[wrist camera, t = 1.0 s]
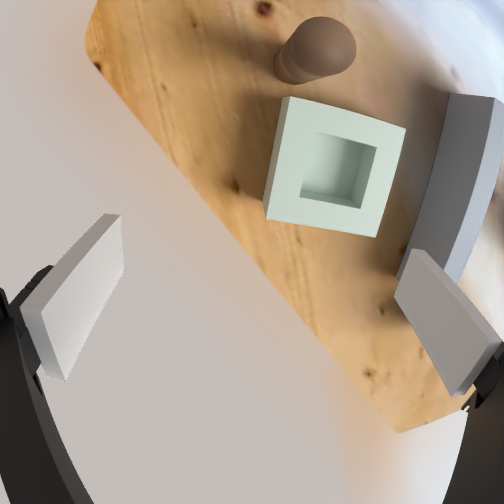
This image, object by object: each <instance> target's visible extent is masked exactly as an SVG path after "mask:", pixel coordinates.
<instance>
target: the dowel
mask: <svg viewBox="0 0 504 504" xmlns="http://www.w3.org/2000/svg"><path fill="white" fill-rule="evenodd" d="M355 55H356V43H355V40H354V37H353V35H352V34H351V32H350V31H349V29H348V28H347V27H346V26H345V25H343V24H342V23H340V22H339V21H337V20H335V19H332V18H329V17H313V18H310V19H308V20H306V21H304V22H303V23H302V24H300V26H299V27H298V28H297V29H296V30H295V32H294V33H293V34H292V35H291V37H290V38H289V39H288V41H287V42H286V43H285V44H284V46H283V47H282V48H281V50H280V51H279V52H278V54H277V55H276V57H275V59H274V63H273V66H274V71H275V73H276V75H277V76H278V77H279V78H280V79H281V80H282V81H283V82H285V83H288V84H292V85H298V84H302V83H306V82H309V81H312V80H316V79H319V78H323V77H326V76H330V75H334V74H337V73H340V72H343V71H344V70H346V69H347V68H348V67H349V66H350V65H351V64H352V62H353V61H354V59H355Z"/></svg>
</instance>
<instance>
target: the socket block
mask: <svg viewBox="0 0 504 504" xmlns="http://www.w3.org/2000/svg"><path fill="white" fill-rule="evenodd" d="M405 132H406V129H404V128H402V127H399V126H396V125H393V124H390V123H387V122H384V121H381V120H378V119H375V118H372V117H368V116H365V115H362V114H359V113H355V112H352V111H348V110H345V109H341V108H337V107H334V106H330V105H326V104H322V103H318V102H314V101H309V100H305V99H301V98H296V97H291V96H289V97H283V98H282V103H281V108H280V114H279V119H278V124H277V129H276V134H275V139H274V144H273V149H272V155H271V160H270V165H269V170H268V175H267V180H266V185H265V190H264V196H263V201H262V203H263V208H264V212H265V217H266V219H270V220H276V221H283V222H289V223H295V224H301V225H307V226H313V227H319V228H325V229H331V230H336V231H342V232H348V233H353V234H359V235H364V236H370V237H376V234H377V231H378V228H379V225H380V222H381V219H382V216H383V212H384V209H385V206H386V203H387V199H388V196H389V192H390V189H391V186H392V182H393V179H394V175H395V171H396V168H397V164H398V160H399V156H400V152H401V148H402V144H403V140H404V136H405Z"/></svg>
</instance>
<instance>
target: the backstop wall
mask: <svg viewBox="0 0 504 504" xmlns="http://www.w3.org/2000/svg"><path fill="white" fill-rule="evenodd" d="M503 154H504V104H503V103H502V102H500V101H499V100H497V99H496V98H492V97H484V96H475V95H465V94H453V93H450V95H449V100H448V105H447V111H446V115H445V120H444V125H443V129H442V134H441V138H440V142H439V146H438V150H437V154H436V158H435V162H434V165H433V169H432V173H431V176H430V180H429V183H428V186H427V190H426V193H425V196H424V199H423V203H422V206H421V209H420V212H419V215H418V218H417V221H416V224H415V227H414V229H413V232H412V235H411V238H410V241H409V243H408V246H407V249H406V251H405V254H404V257H403V259H402V262H401V264H400V267H399V269H398V272H397V274H396V278H397V279H398V280H399V282H400V279H401V276H402V274H403V271H404V269H405V266H406V263H407V261H408V258H409V255H410V252H411V250H412V248H413V249H420V250H425V251H426V252H427V253H428V255H429V256H430V257H431V258H432V259H433V260H434V261H435V262H436V263H437V264H438V265H439V266H440V267H441V268H442V269H443V270H444V271H445V273H446V274H447V275H448V276H449V277H450V278H451V279H452V280H453V281H454V283H455V284H456V285H457V283H458V281H459V279H460V277H461V275H462V272H463V270H464V268H465V266H466V263H467V261H468V259H469V256H470V254H471V252H472V249H473V247H474V244H475V242H476V239H477V237H478V234H479V231H480V229H481V226H482V223H483V221H484V218H485V215H486V212H487V209H488V206H489V203H490V200H491V197H492V194H493V190H494V187H495V184H496V180H497V177H498V173H499V169H500V166H501V162H502V158H503Z"/></svg>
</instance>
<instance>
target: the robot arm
mask: <svg viewBox="0 0 504 504" xmlns="http://www.w3.org/2000/svg"><path fill="white" fill-rule="evenodd" d="M123 272H124V263H123V249H122V232H121V215H114V214H104V215H103V216H102V217H101V218H100V219H99V220H98V221H97V222H96V223H95V224H94V225H93V226H92V227H91V228H90V229H89V230H88V231H87V232H86V233H85V234H84V235H83V236H82V237H81V238H80V239H79V240H78V241H77V242H76V243H75V244H74V245H73V246H72V247H71V249H70V250H69V251H68V252H67V253H66V254H65V255H64V256H63V257H62V258H61V259H60V260H59V261H58V263H57V264H56V265H55V266H51V265H48V266H47V267H45V268H44V269H42V270H40V271H38V272H37V274H36V275H35V276H34V277H33V278H32V279H31V282H28V283H27V285H26V286H25V288H24V289H22V290H21V291H20V293H19V294H18V295H17V296H16V297H15V299H14V300H13V301H12V302H11V303H10V304H8V301H7V298H6V294H5V292H4V290H3V289H2V288H0V475H1V478H2V481H3V484H4V487H5V490H6V493H7V495H8V498H9V501H10V504H94V503H93V501H92V499H91V498H90V496H89V494H88V492H87V491H86V489H85V487H84V485H83V483H82V481H81V480H80V478H79V476H78V474H77V472H76V470H75V468H74V466H73V464H72V461H71V459H70V458H69V455H68V453H67V451H66V449H65V446H64V444H63V442H62V439H61V437H60V435H59V432H58V430H57V427H56V425H55V422H54V420H53V417H52V415H51V412H50V409H49V406H48V404H47V401H46V398H45V395H44V392H43V389H42V386H41V383H40V380H39V377H38V375H37V373H36V371H37V369H38V368H39V366H40V364H41V365H42V367H43V369H44V371H45V373H46V375H47V376H50V377H54V378H57V379H61V380H64V381H66V380H67V378H68V375H69V374H70V371H71V369H72V367H73V365H74V363H75V361H76V359H77V357H78V355H79V353H80V350H81V349H82V347H83V345H84V343H85V341H86V339H87V337H88V335H89V333H90V331H91V329H92V328H93V326H94V324H95V322H96V320H97V318H98V316H99V315H100V313H101V311H102V309H103V307H104V305H105V304H106V302H107V300H108V298H109V296H110V295H111V293H112V291H113V289H114V287H115V286H116V284H117V282H118V281H119V279H120V277H121V276H122V274H123ZM393 297H394V298H395V300H396V301H397V303H398V305H399V306H400V308H401V309H402V311H403V313H404V314H405V316H406V318H407V319H408V321H409V323H410V324H411V326H412V328H413V329H414V331H415V333H416V334H417V336H418V338H419V339H420V341H421V343H422V345H423V346H424V348H425V350H426V352H427V353H428V355H429V357H430V359H431V360H432V362H433V364H434V366H435V368H436V370H437V371H438V373H439V375H440V377H441V379H442V381H443V383H444V384H445V386H446V388H447V390H448V392H449V394H450V396H451V397H455V396H460V395H465V393H466V392H467V391H468V389H469V388H470V387H471V386H472V384H474V386H475V387H476V390H475V391H474V393H473V394H472V395H471V396H470V398H469V399H468V400H467V401H466V402H465V404H464V405H463V406H462V408H461V410H464V409H465V407H466V406H468V405H469V406H470V407H469V408H468V410H467V411H466V412H468V417H467V422H466V426H465V431H464V435H463V439H462V443H461V447H460V451H459V454H458V458H457V462H456V465H455V468H454V471H453V475H452V478H451V481H450V484H449V487H448V490H447V493H446V495H445V498H444V501H443V503H442V504H504V342H503V341H502V339H501V338H500V337H499V335H498V334H497V333H496V332H495V330H494V329H493V328H492V326H491V325H490V324H489V323H488V321H487V320H486V319H485V318H484V316H483V315H482V314H481V313H480V312H479V310H478V309H477V308H476V307H475V306H474V304H473V303H472V302H471V301H470V300H469V298H468V297H467V296H466V295H465V294H464V293H463V292H462V290H461V289H460V288H459V287H458V286H457V285H456V284H455V283H454V281H453V280H452V279H451V278H450V277H449V276H448V275H447V274H446V273H445V271H444V270H443V269H442V268H441V267H440V266H439V265H438V264H437V263H436V262H435V261H434V260H433V259H432V258H431V257H430V256H429V255H428V253H427V252H426V251H425V250H420V249H413V248H412V250H411V252H410V255H409V258H408V261H407V263H406V266H405V269H404V271H403V274H402V276H401V279H400V282H399V284H398V287H397V289H396V292H395V294H394V296H393Z"/></svg>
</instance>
